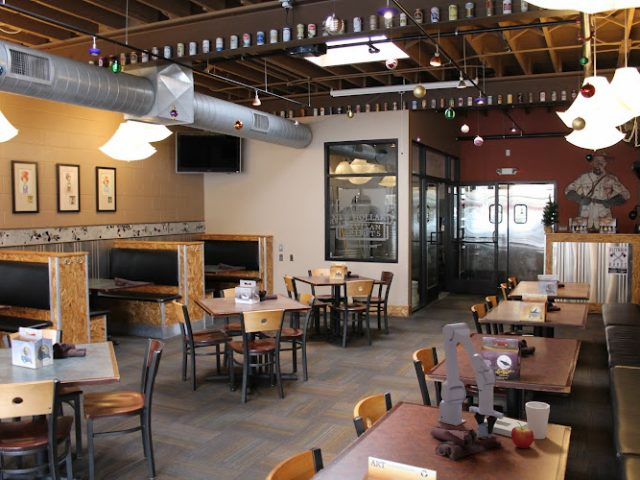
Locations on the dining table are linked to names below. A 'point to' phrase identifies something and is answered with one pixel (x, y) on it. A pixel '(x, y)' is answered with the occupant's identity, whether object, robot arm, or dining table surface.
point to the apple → (522, 436)
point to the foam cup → (537, 418)
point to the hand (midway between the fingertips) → (485, 432)
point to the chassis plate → (507, 425)
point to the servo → (484, 430)
